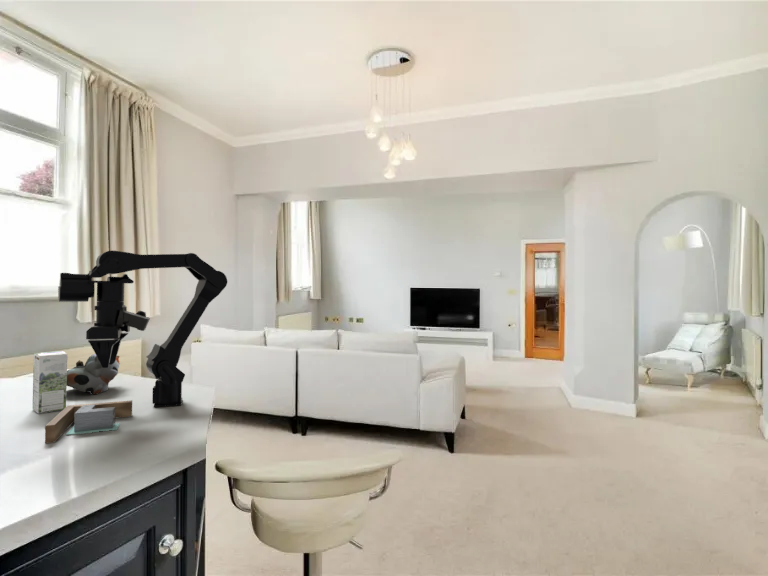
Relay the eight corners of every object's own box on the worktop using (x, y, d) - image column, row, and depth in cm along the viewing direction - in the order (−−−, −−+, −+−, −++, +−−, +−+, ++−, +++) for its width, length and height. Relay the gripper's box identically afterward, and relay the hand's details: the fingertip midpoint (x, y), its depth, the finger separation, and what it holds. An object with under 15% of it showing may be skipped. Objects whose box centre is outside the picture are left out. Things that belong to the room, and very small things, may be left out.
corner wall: (132, 414, 103) (132, 400, 103) (121, 435, 89) (121, 418, 89) (67, 420, 98) (67, 405, 98) (45, 443, 84) (45, 425, 84)
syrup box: (60, 405, 110) (61, 350, 110) (66, 409, 106) (67, 352, 106) (32, 410, 106) (33, 352, 106) (38, 414, 102) (39, 355, 102)
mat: (66, 435, 88) (66, 434, 88) (77, 423, 96) (77, 422, 96) (116, 430, 92) (116, 429, 92) (122, 418, 100) (122, 418, 100)
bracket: (74, 432, 90) (74, 413, 90) (82, 422, 96) (82, 405, 96) (112, 428, 92) (112, 410, 92) (118, 419, 98) (118, 402, 98)
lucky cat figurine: (71, 386, 130) (98, 345, 135) (109, 401, 131) (134, 360, 136) (45, 383, 116) (76, 337, 121) (88, 399, 117) (117, 353, 122)
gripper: (142, 302, 99) (141, 369, 99) (151, 300, 116) (150, 357, 116) (86, 302, 95) (85, 372, 95) (103, 300, 112) (102, 359, 112)
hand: (109, 364), depth 104 cm, fingers open, 9 cm apart
